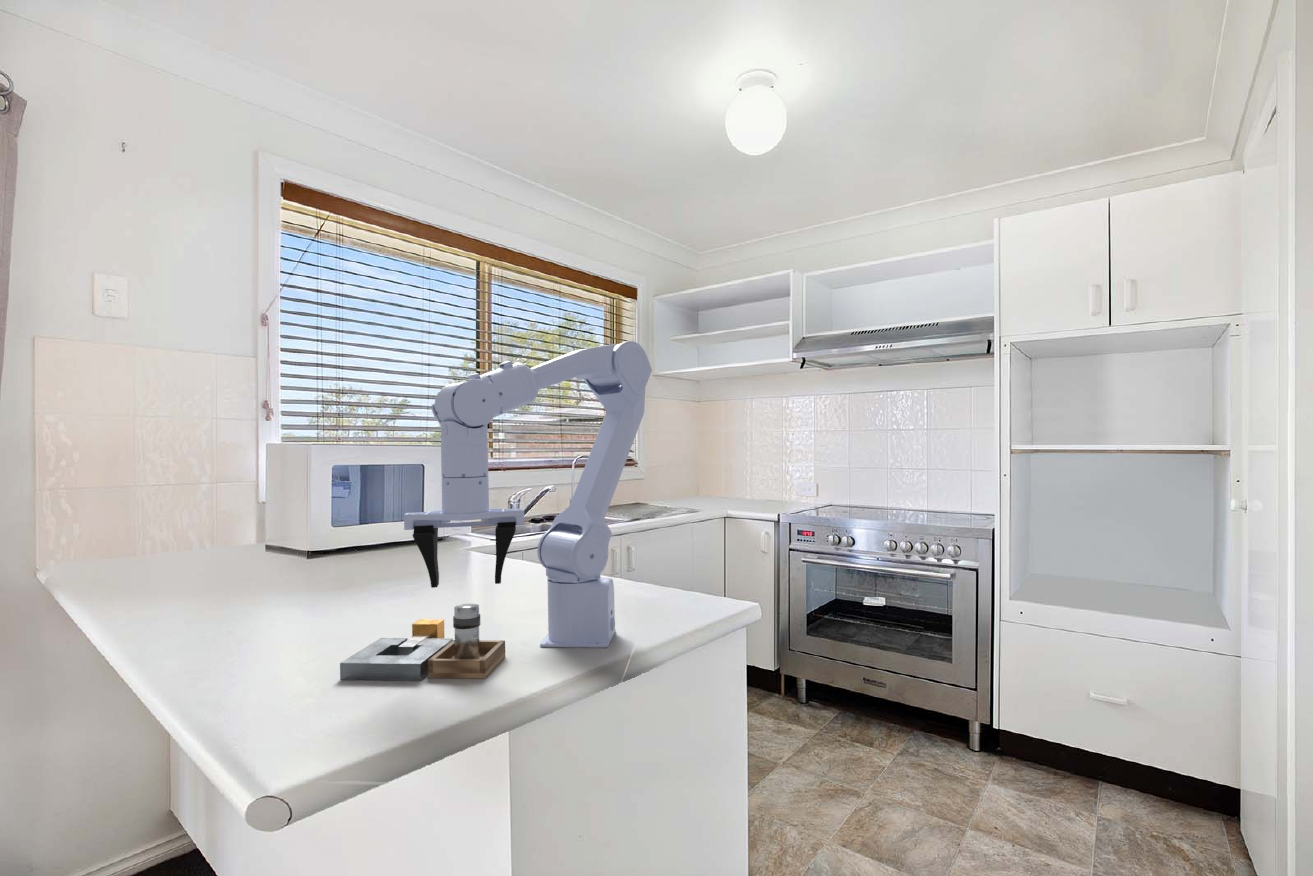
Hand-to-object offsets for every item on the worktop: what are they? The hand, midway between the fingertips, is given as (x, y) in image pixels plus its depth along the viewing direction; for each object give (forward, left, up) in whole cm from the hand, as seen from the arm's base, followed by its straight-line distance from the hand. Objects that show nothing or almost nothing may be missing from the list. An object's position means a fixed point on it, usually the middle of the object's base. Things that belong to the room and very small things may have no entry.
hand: (466, 584), depth 83 cm
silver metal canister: (0, 0, -10) cm, 10 cm away
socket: (+9, 0, -10) cm, 14 cm away
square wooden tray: (0, 0, -10) cm, 10 cm away
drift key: (+9, -6, -10) cm, 15 cm away
